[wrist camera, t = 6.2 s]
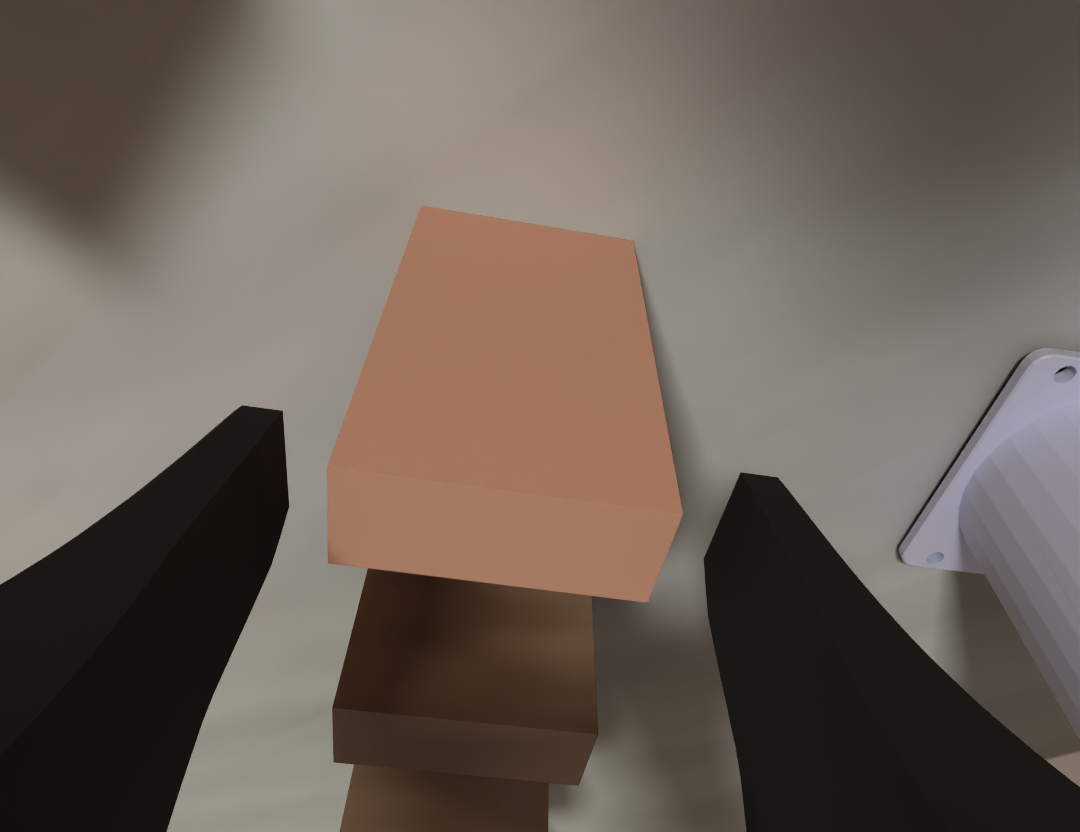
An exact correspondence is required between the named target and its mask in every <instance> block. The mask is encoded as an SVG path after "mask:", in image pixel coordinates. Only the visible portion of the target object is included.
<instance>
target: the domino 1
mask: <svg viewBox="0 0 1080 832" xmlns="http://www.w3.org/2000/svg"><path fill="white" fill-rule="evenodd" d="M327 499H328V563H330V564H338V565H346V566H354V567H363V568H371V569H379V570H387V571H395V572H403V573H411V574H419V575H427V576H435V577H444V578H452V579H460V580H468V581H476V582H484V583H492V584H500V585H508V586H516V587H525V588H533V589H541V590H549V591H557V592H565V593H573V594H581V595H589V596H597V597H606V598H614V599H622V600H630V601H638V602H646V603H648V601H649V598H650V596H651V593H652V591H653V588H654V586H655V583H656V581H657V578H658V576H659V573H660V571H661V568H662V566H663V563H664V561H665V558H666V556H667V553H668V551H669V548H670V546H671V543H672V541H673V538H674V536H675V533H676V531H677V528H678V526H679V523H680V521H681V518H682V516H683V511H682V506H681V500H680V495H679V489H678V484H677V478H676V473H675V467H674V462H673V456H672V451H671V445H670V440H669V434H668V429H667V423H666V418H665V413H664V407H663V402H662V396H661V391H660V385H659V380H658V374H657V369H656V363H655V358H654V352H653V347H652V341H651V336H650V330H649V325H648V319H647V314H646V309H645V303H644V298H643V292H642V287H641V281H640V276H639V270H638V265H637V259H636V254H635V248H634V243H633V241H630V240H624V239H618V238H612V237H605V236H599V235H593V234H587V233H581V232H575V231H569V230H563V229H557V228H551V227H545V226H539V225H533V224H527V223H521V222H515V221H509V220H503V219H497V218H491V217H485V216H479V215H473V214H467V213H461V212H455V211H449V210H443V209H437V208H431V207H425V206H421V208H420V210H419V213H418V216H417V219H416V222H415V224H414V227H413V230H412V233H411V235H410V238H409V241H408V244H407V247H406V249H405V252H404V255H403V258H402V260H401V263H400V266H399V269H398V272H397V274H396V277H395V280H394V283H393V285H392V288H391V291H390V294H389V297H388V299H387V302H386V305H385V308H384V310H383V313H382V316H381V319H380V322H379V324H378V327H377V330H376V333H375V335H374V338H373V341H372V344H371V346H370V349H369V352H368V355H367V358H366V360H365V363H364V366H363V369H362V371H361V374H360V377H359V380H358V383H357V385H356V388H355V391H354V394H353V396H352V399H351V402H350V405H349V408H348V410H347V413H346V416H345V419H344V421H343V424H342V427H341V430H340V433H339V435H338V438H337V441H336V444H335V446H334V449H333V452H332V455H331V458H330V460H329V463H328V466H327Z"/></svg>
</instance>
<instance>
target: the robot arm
mask: <svg viewBox="0 0 1080 832" xmlns="http://www.w3.org/2000/svg"><path fill="white" fill-rule="evenodd" d="M1065 366H1067V367H1066V368H1065V369H1064V370H1063V371H1062V372H1060V373H1057V374H1055V373H1056V372H1057V371H1058V370H1059V369H1061V368H1063V367H1065ZM288 508H289V498H288V483H287V468H286V453H285V438H284V423H283V411H279V410H272V409H264V408H257V407H250V406H241V407H239V408H238V409H237V410H235V411H234V412H233V413H232V414H230V415H229V416H228V417H227V418H226V419H224V420H223V421H222V422H221V423H220V424H219V425H217V426H216V427H215V428H214V429H213V430H212V431H211V432H209V433H208V434H207V435H206V436H205V437H204V438H202V439H201V440H200V441H199V442H198V443H197V444H195V445H194V446H193V447H192V448H191V449H189V450H188V451H187V452H186V453H185V454H184V455H182V456H181V457H180V458H179V459H178V460H176V461H175V462H174V463H173V464H171V465H170V466H169V467H168V468H167V469H165V470H164V471H163V472H162V473H160V474H159V475H158V476H157V477H155V478H154V479H153V480H152V481H150V482H149V483H148V484H147V485H145V486H144V487H143V488H142V489H140V490H139V491H138V492H137V493H135V494H134V495H133V496H131V497H130V498H129V499H127V500H126V501H125V502H123V503H122V504H121V505H119V506H118V507H116V508H115V509H114V510H112V511H111V512H110V513H108V514H107V515H105V516H104V517H103V518H101V519H100V520H99V521H97V522H96V523H94V524H93V525H92V526H90V527H89V528H88V529H86V530H85V531H84V532H82V533H81V534H79V535H78V536H76V537H75V538H73V539H72V540H70V541H69V542H67V543H66V544H64V545H63V546H61V547H60V548H58V549H57V550H55V551H54V552H52V553H51V554H49V555H48V556H46V557H45V558H43V559H42V560H40V561H38V562H37V563H35V564H34V565H32V566H30V567H29V568H27V569H25V570H24V571H22V572H21V573H19V574H17V575H16V576H14V577H13V578H11V579H9V580H7V581H6V582H4V583H2V584H1V585H0V832H166V831H167V828H168V825H169V822H170V819H171V816H172V812H173V809H174V806H175V803H176V800H177V797H178V794H179V790H180V787H181V784H182V781H183V778H184V775H185V772H186V769H187V766H188V763H189V760H190V757H191V754H192V751H193V748H194V745H195V742H196V739H197V736H198V733H199V730H200V728H201V725H202V722H203V719H204V717H205V714H206V712H207V709H208V707H209V704H210V702H211V699H212V697H213V694H214V692H215V689H216V687H217V685H218V683H219V681H220V678H221V676H222V674H223V672H224V669H225V667H226V665H227V663H228V661H229V658H230V656H231V654H232V652H233V650H234V647H235V645H236V643H237V641H238V639H239V636H240V634H241V632H242V630H243V627H244V625H245V623H246V621H247V619H248V616H249V614H250V612H251V610H252V608H253V605H254V603H255V601H256V599H257V596H258V594H259V592H260V590H261V587H262V585H263V583H264V581H265V578H266V576H267V574H268V571H269V569H270V567H271V564H272V561H273V558H274V555H275V552H276V549H277V545H278V542H279V539H280V536H281V532H282V529H283V526H284V522H285V519H286V515H287V512H288ZM899 553H900V556H901V558H902V560H903V561H904V562H905V563H906V564H908V565H911V566H919V567H927V568H935V569H943V570H952V571H960V572H968V573H976V574H984V575H985V576H986V578H987V580H988V582H989V583H990V585H991V587H992V589H993V590H994V592H995V594H996V596H997V597H998V599H999V601H1000V603H1001V604H1002V606H1003V608H1004V610H1005V611H1006V613H1007V615H1008V617H1009V618H1010V620H1011V622H1012V624H1013V625H1014V627H1015V629H1016V631H1017V632H1018V634H1019V636H1020V638H1021V639H1022V641H1023V643H1024V645H1025V646H1026V648H1027V650H1028V652H1029V653H1030V655H1031V657H1032V659H1033V660H1034V662H1035V664H1036V666H1037V667H1038V669H1039V671H1040V673H1041V674H1042V676H1043V678H1044V680H1045V681H1046V683H1047V685H1048V687H1049V688H1050V690H1051V692H1052V694H1053V695H1054V697H1055V699H1056V701H1057V702H1058V704H1059V706H1060V708H1061V709H1062V711H1063V713H1064V715H1065V716H1066V718H1067V720H1068V722H1069V723H1070V725H1071V727H1072V729H1073V730H1074V732H1075V734H1076V736H1077V737H1078V739H1079V741H1080V352H1075V351H1068V350H1061V349H1055V348H1042V349H1038V350H1035V351H1033V352H1032V353H1030V354H1028V355H1027V356H1026V357H1025V358H1024V359H1023V360H1022V361H1021V363H1020V364H1019V366H1018V367H1017V369H1016V371H1015V372H1014V374H1013V375H1012V377H1011V378H1010V380H1009V381H1008V383H1007V384H1006V386H1005V387H1004V389H1003V390H1002V392H1001V393H1000V395H999V396H998V398H997V399H996V401H995V402H994V404H993V406H992V407H991V409H990V410H989V412H988V413H987V415H986V416H985V418H984V419H983V421H982V422H981V424H980V425H979V427H978V428H977V430H976V431H975V433H974V434H973V436H972V437H971V439H970V441H969V442H968V444H967V445H966V447H965V448H964V450H963V451H962V453H961V454H960V456H959V457H958V459H957V460H956V462H955V463H954V465H953V466H952V468H951V469H950V471H949V472H948V474H947V476H946V477H945V479H944V480H943V482H942V483H941V485H940V486H939V488H938V489H937V491H936V492H935V494H934V495H933V497H932V498H931V500H930V501H929V503H928V504H927V506H926V507H925V509H924V511H923V512H922V514H921V515H920V517H919V518H918V520H917V521H916V523H915V524H914V526H913V527H912V529H911V530H910V532H909V533H908V535H907V536H906V538H905V539H904V541H903V542H902V544H901V546H900V548H899ZM704 568H705V584H706V597H707V608H708V618H709V623H710V628H711V633H712V638H713V643H714V648H715V652H716V657H717V662H718V667H719V672H720V676H721V681H722V686H723V690H724V695H725V700H726V704H727V709H728V714H729V718H730V723H731V728H732V732H733V737H734V742H735V746H736V752H737V758H738V764H739V770H740V776H741V784H742V794H743V803H744V812H745V821H746V830H747V832H1080V787H1079V786H1078V785H1076V784H1075V783H1074V782H1072V781H1071V780H1070V779H1069V778H1067V777H1066V776H1065V775H1063V774H1062V773H1061V772H1060V771H1058V770H1057V769H1056V768H1055V767H1053V766H1052V765H1051V764H1050V763H1048V762H1047V761H1046V760H1044V759H1043V758H1042V757H1041V756H1039V755H1038V754H1037V753H1036V752H1035V751H1033V750H1032V749H1031V748H1030V747H1029V746H1027V745H1026V744H1025V743H1024V742H1023V741H1022V740H1020V739H1019V738H1018V737H1017V736H1016V735H1014V734H1013V733H1012V732H1011V731H1010V730H1009V729H1007V728H1006V727H1005V726H1004V725H1003V724H1002V723H1000V722H999V721H998V720H997V719H996V718H994V717H993V716H992V715H991V714H990V713H989V712H988V711H987V710H985V709H984V708H983V707H982V706H981V705H980V704H979V703H978V702H976V701H975V700H974V699H973V698H972V697H971V696H970V695H969V694H968V693H967V692H966V691H965V690H964V689H962V688H961V687H960V686H959V685H958V684H957V683H956V682H955V681H954V680H953V679H952V678H951V677H950V676H949V675H948V674H947V673H946V672H945V671H944V670H943V669H942V668H941V667H940V666H939V665H938V664H936V663H935V662H934V661H933V660H932V659H931V658H930V657H929V656H928V655H927V654H926V653H925V652H924V651H923V650H922V649H921V647H920V646H919V645H918V644H917V643H916V642H915V641H914V640H913V639H912V638H911V637H910V636H909V635H908V634H907V633H906V632H905V631H904V629H903V628H902V627H901V626H900V625H899V624H898V623H897V622H896V621H895V620H894V619H893V617H892V616H891V615H890V614H889V613H888V612H887V611H886V610H885V609H884V608H883V606H882V605H881V604H880V603H879V602H878V601H877V600H876V598H875V597H874V596H873V595H872V594H871V593H870V592H869V590H868V589H867V588H866V587H865V586H864V585H863V583H862V582H861V581H860V580H859V579H858V577H857V576H856V575H855V574H854V573H853V571H852V570H851V569H850V568H849V566H848V565H847V564H846V563H845V562H844V560H843V559H842V558H841V557H840V555H839V554H838V553H837V552H836V550H835V549H834V548H833V547H832V545H831V544H830V543H829V542H828V540H827V539H826V538H825V537H824V535H823V534H822V533H821V531H820V530H819V529H818V528H817V526H816V525H815V524H814V523H813V521H812V520H811V519H810V517H809V516H808V515H807V514H806V512H805V511H804V510H803V508H802V507H801V506H800V505H799V503H798V502H797V501H796V499H795V498H794V497H793V496H792V494H791V493H790V492H789V491H788V489H787V488H786V487H785V486H784V484H783V483H782V482H781V481H780V480H779V478H778V477H770V476H763V475H755V474H748V473H740V475H739V478H738V480H737V482H736V485H735V487H734V489H733V492H732V494H731V496H730V499H729V501H728V503H727V506H726V508H725V510H724V513H723V515H722V517H721V520H720V522H719V524H718V527H717V529H716V531H715V534H714V536H713V538H712V541H711V543H710V545H709V548H708V550H707V552H706V555H705V557H704Z"/></svg>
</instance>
